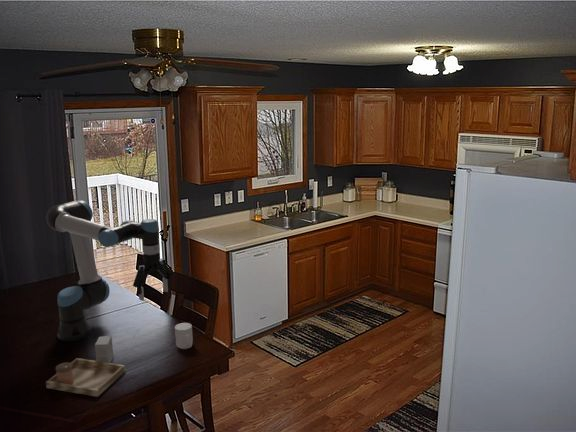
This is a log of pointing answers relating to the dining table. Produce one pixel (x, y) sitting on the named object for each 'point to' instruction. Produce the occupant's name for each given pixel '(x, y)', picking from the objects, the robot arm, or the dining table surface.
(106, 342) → the small box
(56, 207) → the robot arm
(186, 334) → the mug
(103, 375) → the tray
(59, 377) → the jar
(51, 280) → the dining table surface
